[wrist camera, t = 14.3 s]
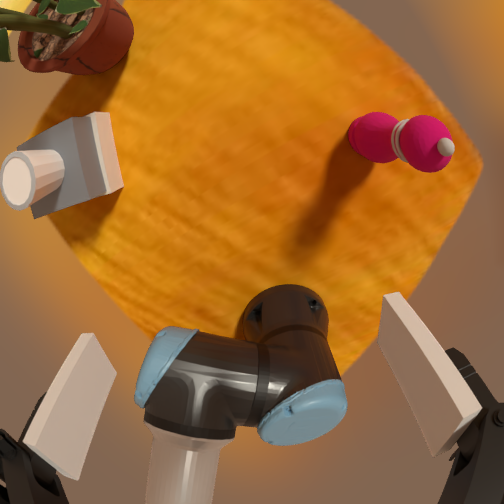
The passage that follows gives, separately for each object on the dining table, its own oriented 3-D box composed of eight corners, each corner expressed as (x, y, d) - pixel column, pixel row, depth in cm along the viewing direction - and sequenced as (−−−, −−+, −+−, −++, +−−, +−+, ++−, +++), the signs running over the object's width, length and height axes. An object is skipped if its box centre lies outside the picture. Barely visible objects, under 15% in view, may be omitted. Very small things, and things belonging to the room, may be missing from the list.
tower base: (124, 186, 40) (111, 193, 35) (67, 202, 40) (51, 211, 36) (110, 112, 35) (94, 111, 30) (52, 136, 35) (35, 139, 31)
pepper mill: (338, 119, 36) (413, 115, 18) (379, 108, 36) (467, 104, 17) (353, 165, 39) (430, 196, 21) (392, 152, 38) (480, 176, 20)
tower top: (106, 190, 35) (90, 199, 30) (52, 209, 36) (34, 219, 31) (90, 117, 31) (71, 116, 26) (36, 143, 31) (16, 147, 26)
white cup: (34, 197, 30) (2, 212, 23) (31, 148, 27) (-3, 156, 21) (70, 194, 30) (38, 209, 24) (67, 141, 27) (33, 146, 21)
